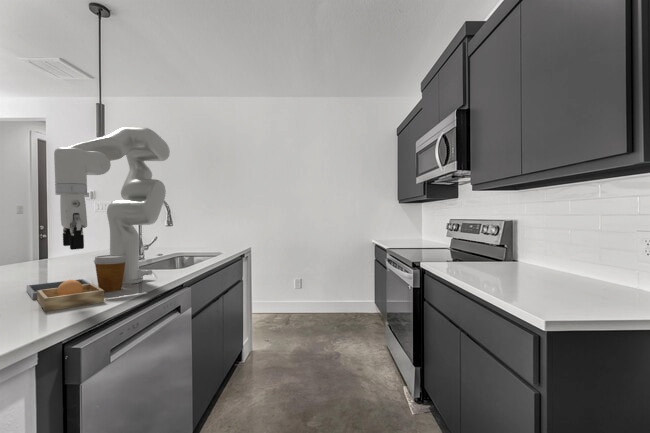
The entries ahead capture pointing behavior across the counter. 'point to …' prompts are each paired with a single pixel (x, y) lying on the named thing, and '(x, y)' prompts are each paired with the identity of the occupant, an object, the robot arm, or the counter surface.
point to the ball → (69, 288)
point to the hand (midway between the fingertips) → (73, 247)
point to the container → (47, 287)
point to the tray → (69, 298)
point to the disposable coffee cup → (110, 271)
